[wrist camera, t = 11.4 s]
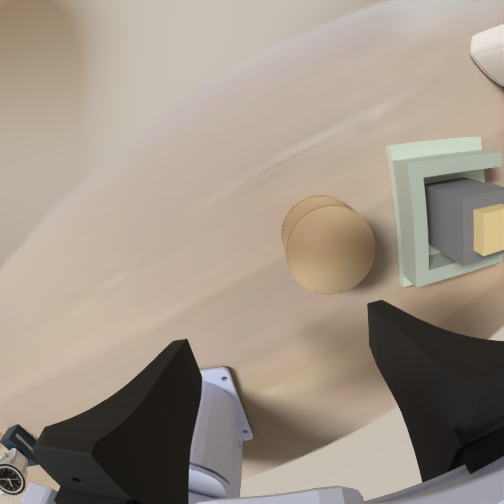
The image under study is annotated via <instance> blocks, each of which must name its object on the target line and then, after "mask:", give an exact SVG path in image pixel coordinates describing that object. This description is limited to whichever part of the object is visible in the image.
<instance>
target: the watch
mask: <svg viewBox="0 0 504 504" xmlns="http://www.w3.org/2000/svg"><path fill="white" fill-rule="evenodd" d="M0 442H1V443H2V444H3V445H4V446H5V447H6V448H7V449H8V450H9V452H7V453H5V454H4V455H3V456H1V459H0V495H1V496H7V497H9V496H12V495H19V494H21V493H22V492H23V491H24V490H25V488H26V478H27V473H28V472H27V471H26V469H27V466H34V465H38V464H39V463H38V462H37V461H36V459H35V457H34V455H33V452H32V449H33V447H34V445H35V443H36V441H35V440H34V439H33V438H32V437H31V436H30V435H29V434H28V433H27V432H26V431H24V430H23V429H22V428H21V427H20V426H19V425H18V424H17V425H15V426H13V427H11V428H8V430H7V431H6V433H5V434H4V436H3V437H2V439H1V441H0Z"/></svg>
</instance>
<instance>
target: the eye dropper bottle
mask: <svg viewBox="0 0 504 504" xmlns="http://www.w3.org/2000/svg"><path fill="white" fill-rule="evenodd" d="M470 55H471V57H472V59H473V61H474V62H475V63H476V64H477V66H478V67H479V68H480V69H481V70H482V71H483V72H484V73H485V74H486V75H487V76H488V77H489V78H490V79H492V80H493V81H494V82H496V83H497V84H499V85H501V86H503V87H504V24H502V25H499V26H497V27H494V28H491V29H488V30H486V31H483V32H481V33H478V34H475V35H473V37H472V39H471V45H470Z"/></svg>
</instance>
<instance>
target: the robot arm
mask: <svg viewBox="0 0 504 504" xmlns="http://www.w3.org/2000/svg"><path fill="white" fill-rule="evenodd" d="M367 306H368V324H369V346H370V348H371V351H372V354H373V357H374V359H375V362H376V364H377V366H378V368H379V370H380V372H381V374H382V376H383V378H384V379H385V381H386V383H387V385H388V387H389V389H390V391H391V392H392V394H393V396H394V398H395V400H396V402H397V404H398V406H399V408H400V410H401V413H402V415H403V418H404V421H405V423H406V426H407V429H408V432H409V435H410V438H411V442H412V445H413V448H414V451H415V455H416V459H417V462H418V466H419V470H420V474H421V478H422V483H420V484H418V485H415V486H412V487H409V488H406V489H403V490H401V491H398V492H395V493H391V494H388V495H385V496H382V497H378V498H375V499H371V500H368V501H364V500H363V496H362V495H361V494H360V492H359V491H358V490H356V489H353V488H347V487H341V486H334V487H323V488H315V489H309V490H303V491H297V492H290V493H283V494H274V495H264V496H254V497H240V487H241V472H242V449H243V441H247V440H251V439H253V433H252V431H251V428H250V426H249V423H248V420H247V418H246V415H245V412H244V410H243V407H242V404H241V402H240V399H239V396H238V393H237V391H236V388H235V385H234V382H233V379H232V377H231V374H230V371H229V369H227V368H225V367H219V368H211V369H203V370H199V367H198V365H197V362H196V360H195V357H194V355H193V352H192V350H191V347H190V345H189V342H188V339H183V340H176V341H173V342H172V343H170V344H169V345H168V346H167V347H166V348H165V349H164V350H163V351H162V352H161V353H160V354H159V355H158V356H157V357H156V358H155V359H154V360H153V361H152V362H151V363H150V364H149V365H148V366H147V367H146V368H145V369H144V370H143V371H142V372H140V373H139V374H138V375H137V376H136V377H135V378H134V379H133V380H132V381H130V382H129V383H128V384H127V385H126V386H124V387H123V388H122V389H121V390H119V391H118V392H116V393H115V394H114V395H112V396H111V397H109V398H108V399H106V400H105V401H103V402H101V403H100V404H98V405H96V406H95V407H93V408H91V409H89V410H87V411H85V412H83V413H81V414H79V415H77V416H75V417H72V418H70V419H67V420H65V421H62V422H59V423H56V424H53V425H50V426H47V427H45V428H44V430H43V431H42V433H41V435H40V437H39V438H38V440H37V442H36V443H35V445H34V447H33V449H32V452H33V455H34V457H35V459H36V461H37V462H38V463H39V465H40V466H41V467H42V468H43V469H44V470H45V471H46V472H47V473H48V474H49V475H50V476H51V477H52V478H53V479H54V480H55V481H56V482H57V483H58V484H59V485H60V486H61V487H60V489H59V491H58V492H57V491H56V490H54V489H52V488H49V487H46V486H43V485H40V484H37V483H33V482H31V483H30V485H29V487H28V489H27V491H26V493H25V495H24V497H23V499H22V501H21V503H20V504H504V341H495V340H486V339H479V338H474V337H469V336H464V335H460V334H457V333H453V332H450V331H447V330H444V329H441V328H439V327H436V326H434V325H431V324H429V323H427V322H424V321H422V320H420V319H418V318H416V317H414V316H412V315H410V314H408V313H406V312H404V311H402V310H400V309H398V308H397V307H395V306H393V305H391V304H389V303H387V302H385V301H383V300H379V301H375V302H372V303H368V304H367ZM223 377H227V378H223Z"/></svg>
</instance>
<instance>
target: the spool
mask: <svg viewBox="0 0 504 504" xmlns="http://www.w3.org/2000/svg"><path fill="white" fill-rule="evenodd" d="M282 241H283V245H284V248H285V251H286V253H287V259H288V263H289V267H290V270H291V272H292V274H293V276H294V277H295V279H296V280H297V281H298V282H299V283H300V284H301V285H302V286H303V287H305V288H306V289H308V290H310V291H312V292H315V293H318V294H325V295H333V294H339V293H342V292H345V291H348V290H350V289H352V288H353V287H355V286H356V285H358V284H359V283H360V282H361V281H362V280H363V279H364V278H365V277H366V275H367V274H368V272H369V271H370V269H371V267H372V265H373V262H374V259H375V253H376V242H375V237H374V234H373V231H372V229H371V227H370V226H369V224H368V223H367V222H366V221H365V219H363V218H362V217H361V216H360V215H359V214H357V213H356V212H354V211H353V210H351V209H349V208H348V207H347V206H345V205H344V204H343V203H341V202H340V201H338V200H336V199H334V198H331V197H327V196H313V197H310V198H307V199H304V200H302V201H301V202H299V203H298V204H296V205H295V206H294V207H293V208H292V209H291V210H290V212H289V213H288V214H287V216H286V218H285V220H284V223H283V227H282Z"/></svg>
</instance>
